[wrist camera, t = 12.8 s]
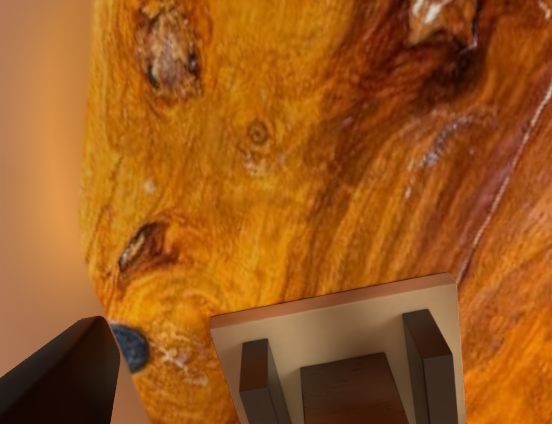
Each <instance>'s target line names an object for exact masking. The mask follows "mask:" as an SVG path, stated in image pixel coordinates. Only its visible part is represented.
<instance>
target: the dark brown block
mask: <svg viewBox="0 0 552 424" xmlns="http://www.w3.org/2000/svg"><path fill="white" fill-rule="evenodd" d="M300 379H301V390H302V402H303V413H304V424H409V421H408V418H407V415H406V413H405V410H404V407H403V404H402V401H401V398H400V395H399V392H398V389H397V386H396V383H395V380H394V377H393V374H392V371H391V368H390V365H389V362H388V360H387V357H386V354H385V353H378V354H372V355H366V356H361V357H355V358H350V359H344V360H339V361H333V362H328V363H322V364H316V365H311V366H305V367H301V368H300Z"/></svg>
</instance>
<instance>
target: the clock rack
mask: <svg viewBox="0 0 552 424" xmlns="http://www.w3.org/2000/svg"><path fill="white" fill-rule="evenodd" d="M209 332H210V335H211V338H212V341H213V344H214V347H215V350H216V353H217V356H218V359H219V362H220V365H221V368H222V370H223V373H224V376H225V379H226V382H227V385H228V388H229V391H230V394H231V397H232V400H233V403H234V406H235V409H236V412H237V415H238V418H239V421H240V424H304V413H303V402H302V390H301V379H300V368H301V367H305V366H311V365H316V364H322V363H328V362H333V361H339V360H344V359H350V358H355V357H361V356H366V355H372V354H378V353H385V354H386V357H387V360H388V362H389V365H390V368H391V371H392V374H393V377H394V380H395V383H396V386H397V389H398V392H399V395H400V398H401V401H402V404H403V407H404V410H405V413H406V415H407V418H408V421H409V424H467V422H466V408H465V394H464V380H463V366H462V352H461V338H460V323H459V309H458V295H457V283H456V282H455V280H454V279H453V277H452V276H451V275H450V273H449V272H446V273H440V274H435V275H430V276H424V277H419V278H414V279H409V280H403V281H398V282H393V283H388V284H382V285H377V286H372V287H367V288H361V289H356V290H351V291H345V292H340V293H335V294H330V295H324V296H319V297H314V298H309V299H303V300H298V301H293V302H288V303H282V304H277V305H272V306H267V307H261V308H256V309H251V310H245V311H240V312H235V313H230V314H224V315H219V316H214V317H211V322H210V327H209Z"/></svg>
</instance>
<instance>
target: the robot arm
mask: <svg viewBox="0 0 552 424" xmlns="http://www.w3.org/2000/svg"><path fill="white" fill-rule="evenodd" d="M119 366H120V352H119V348H118V346H117V344H116V341H115V339H114V337H113V334H112V332H111V329H110V327H109V325H108V323H107V321H106V319H105V318H104V317H102V316H95V317H90V318H84V319H81V320H79V321H77V322H76V323H75V324H73V325H72V326H71V327H69V328H68V329H66V330H65V331H64V332H62V333H61V334H60V335H58V336H57V337H56V338H54V339H53V340H51V341H50V342H49V343H47V344H46V345H45V346H43V347H42V348H40V349H39V350H38V351H36V352H35V353H34V354H32V355H31V356H30V357H28V358H27V359H25V360H24V361H23V362H21V363H20V364H19V365H17V366H16V367H15V368H13V369H12V370H10V371H9V372H8V373H6V374H5V375H4V376H2V377H1V378H0V424H110V422H111V416H112V410H113V403H114V397H115V391H116V385H117V379H118V372H119Z"/></svg>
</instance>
